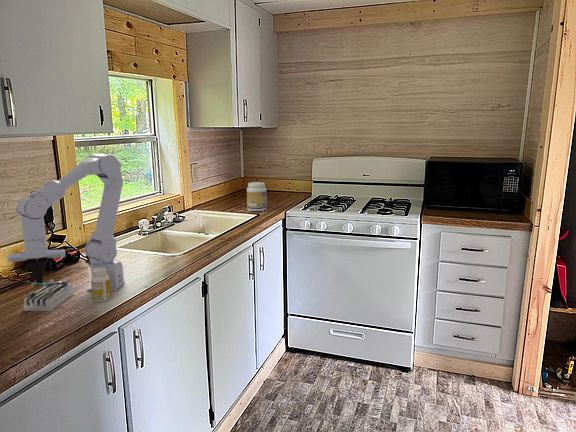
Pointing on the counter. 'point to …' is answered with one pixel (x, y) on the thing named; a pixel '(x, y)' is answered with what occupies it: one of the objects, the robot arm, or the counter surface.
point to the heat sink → (48, 297)
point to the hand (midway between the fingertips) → (40, 282)
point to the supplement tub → (256, 196)
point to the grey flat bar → (47, 284)
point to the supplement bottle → (100, 285)
